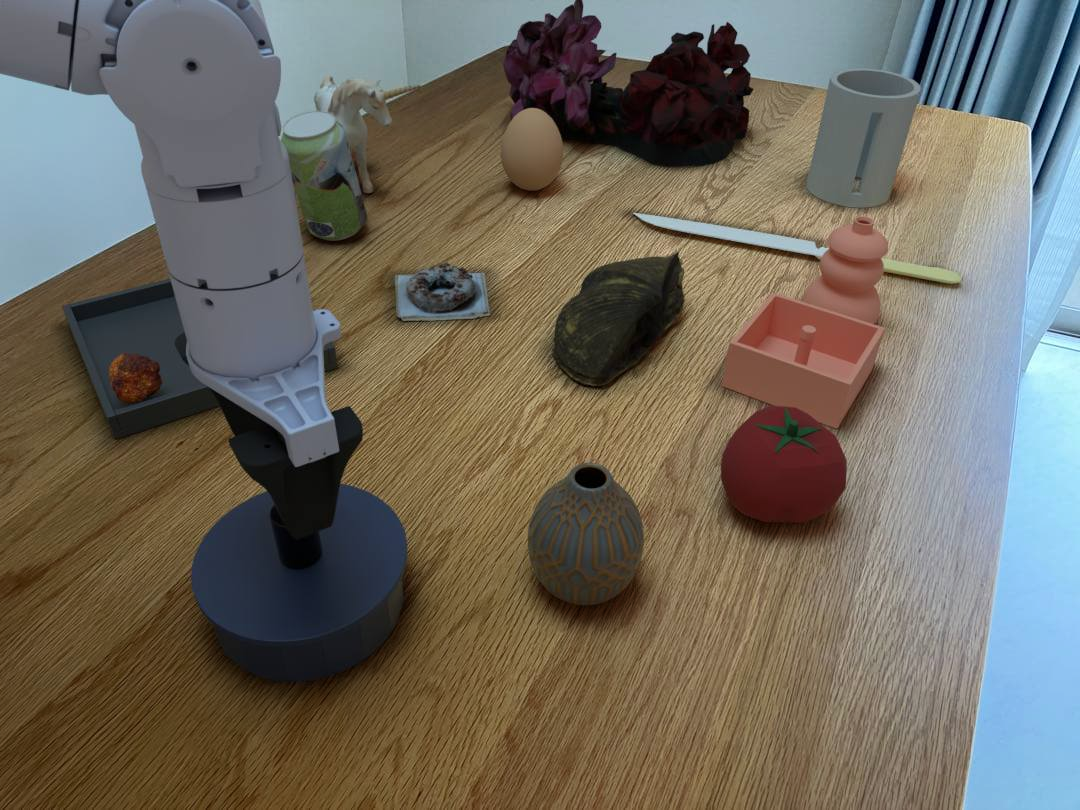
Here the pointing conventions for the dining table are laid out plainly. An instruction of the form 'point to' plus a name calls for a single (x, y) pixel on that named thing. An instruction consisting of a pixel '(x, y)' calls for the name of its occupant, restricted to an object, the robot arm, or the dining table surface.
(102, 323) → the tray
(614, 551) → the vase
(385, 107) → the unicorn figurine
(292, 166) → the beverage can
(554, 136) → the egg
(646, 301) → the seashell
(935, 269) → the knife
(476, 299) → the donut
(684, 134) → the flower arrangement
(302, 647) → the tin
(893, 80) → the cup
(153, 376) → the meatball
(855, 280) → the pottery
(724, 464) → the tomato
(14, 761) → the dining table surface
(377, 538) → the tin lid
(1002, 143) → the dining table surface
